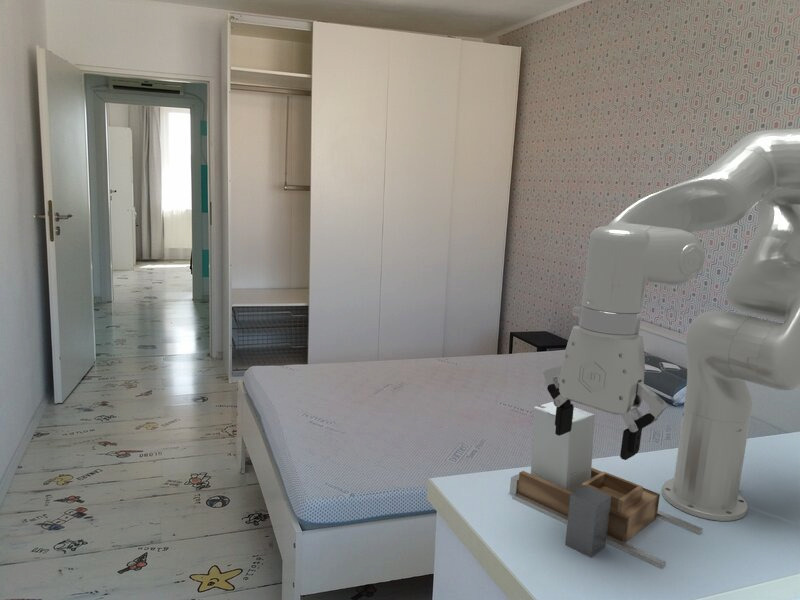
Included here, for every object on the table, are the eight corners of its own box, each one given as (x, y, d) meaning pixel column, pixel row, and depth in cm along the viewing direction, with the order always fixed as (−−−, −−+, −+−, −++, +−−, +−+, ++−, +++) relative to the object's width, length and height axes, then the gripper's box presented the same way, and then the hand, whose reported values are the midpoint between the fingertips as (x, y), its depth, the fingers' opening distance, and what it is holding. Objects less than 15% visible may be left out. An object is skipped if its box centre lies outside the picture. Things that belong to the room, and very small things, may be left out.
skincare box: (589, 502, 102) (599, 415, 99) (563, 511, 99) (573, 421, 96) (551, 480, 109) (559, 398, 106) (525, 488, 106) (533, 404, 103)
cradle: (554, 475, 111) (557, 443, 109) (656, 518, 98) (661, 481, 97) (517, 495, 103) (520, 460, 102) (622, 544, 90) (627, 505, 89)
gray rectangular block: (579, 536, 92) (585, 485, 91) (605, 548, 90) (611, 495, 88) (565, 546, 90) (570, 493, 88) (590, 559, 87) (596, 505, 85)
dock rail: (552, 471, 112) (554, 455, 112) (702, 533, 95) (704, 514, 94) (506, 496, 103) (507, 479, 102) (662, 570, 85) (664, 549, 84)
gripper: (537, 312, 87) (525, 430, 90) (662, 339, 75) (643, 475, 78) (566, 307, 92) (554, 419, 95) (687, 332, 80) (668, 459, 83)
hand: (594, 444), depth 86 cm, fingers open, 9 cm apart
